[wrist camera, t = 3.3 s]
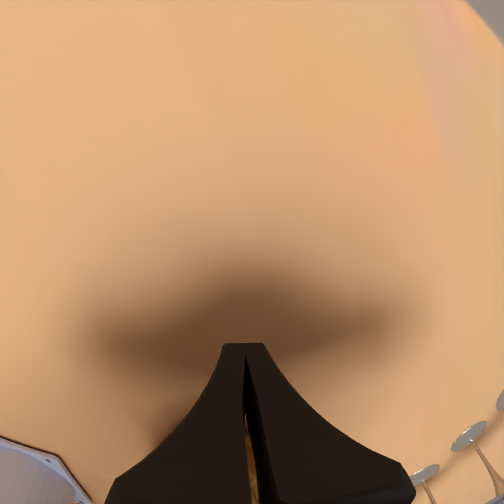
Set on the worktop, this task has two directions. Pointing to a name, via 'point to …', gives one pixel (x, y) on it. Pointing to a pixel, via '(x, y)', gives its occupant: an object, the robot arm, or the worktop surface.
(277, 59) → the worktop surface
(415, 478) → the goblet set
